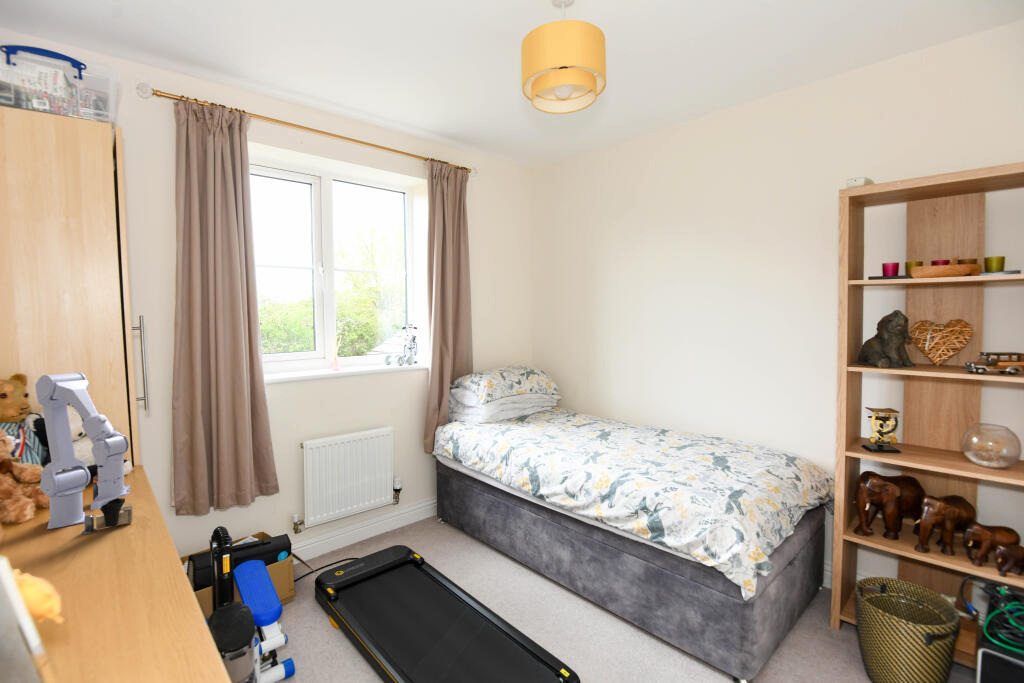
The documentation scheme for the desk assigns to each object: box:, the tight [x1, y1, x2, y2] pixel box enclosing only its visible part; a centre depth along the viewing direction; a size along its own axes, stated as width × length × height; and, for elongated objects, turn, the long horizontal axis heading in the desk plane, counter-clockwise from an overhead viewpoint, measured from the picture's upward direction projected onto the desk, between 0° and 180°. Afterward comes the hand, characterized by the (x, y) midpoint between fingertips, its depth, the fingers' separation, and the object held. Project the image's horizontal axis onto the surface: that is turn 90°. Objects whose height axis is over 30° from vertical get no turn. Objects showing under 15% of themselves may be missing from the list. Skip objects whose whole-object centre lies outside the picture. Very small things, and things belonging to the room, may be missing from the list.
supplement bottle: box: [92, 468, 98, 502], centre depth 160 cm, size 6×6×11 cm
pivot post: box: [81, 514, 98, 535], centre depth 137 cm, size 3×3×4 cm
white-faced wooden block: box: [120, 504, 133, 521], centre depth 145 cm, size 2×3×4 cm, turn 131°
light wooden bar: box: [95, 508, 132, 530], centre depth 141 cm, size 8×2×4 cm, turn 131°
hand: (112, 525), depth 139 cm, fingers closed, pressing on light wooden bar
